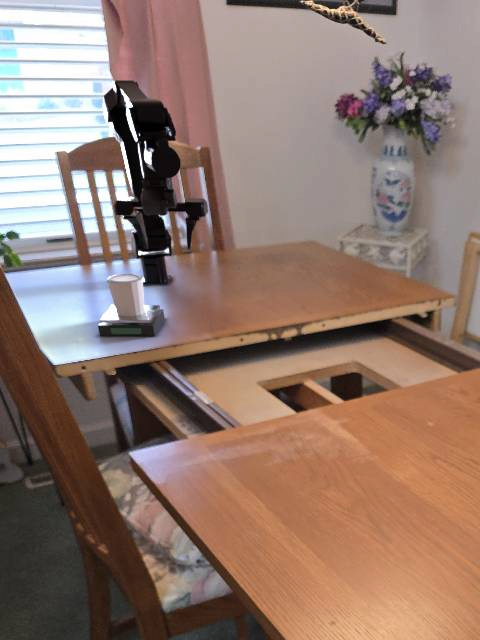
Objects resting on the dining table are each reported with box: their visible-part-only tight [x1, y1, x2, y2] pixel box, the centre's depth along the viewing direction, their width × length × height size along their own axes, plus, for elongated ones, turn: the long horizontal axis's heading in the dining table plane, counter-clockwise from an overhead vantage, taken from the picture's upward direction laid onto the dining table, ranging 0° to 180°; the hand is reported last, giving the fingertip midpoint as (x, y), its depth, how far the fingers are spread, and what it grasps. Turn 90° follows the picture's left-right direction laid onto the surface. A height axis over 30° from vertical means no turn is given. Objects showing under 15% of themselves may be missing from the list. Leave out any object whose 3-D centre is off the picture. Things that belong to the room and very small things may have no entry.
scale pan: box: [99, 304, 161, 323], centre depth 148 cm, size 10×10×1 cm
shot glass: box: [106, 273, 146, 316], centre depth 146 cm, size 7×7×7 cm
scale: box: [97, 308, 166, 337], centre depth 149 cm, size 11×11×3 cm
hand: (168, 248), depth 157 cm, fingers open, 9 cm apart
